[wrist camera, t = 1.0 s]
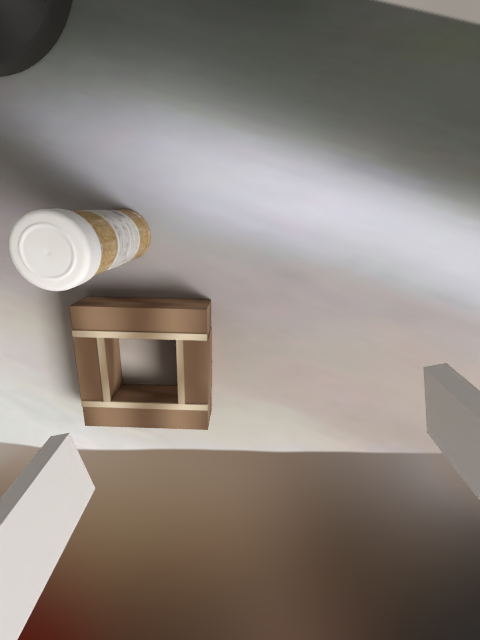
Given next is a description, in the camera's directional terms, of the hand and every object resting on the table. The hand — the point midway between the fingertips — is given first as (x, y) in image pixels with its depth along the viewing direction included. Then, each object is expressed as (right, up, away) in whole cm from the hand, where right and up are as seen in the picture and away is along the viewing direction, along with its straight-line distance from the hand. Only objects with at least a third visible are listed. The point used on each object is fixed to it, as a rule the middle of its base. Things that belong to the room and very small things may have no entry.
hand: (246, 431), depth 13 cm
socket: (-9, 0, +23) cm, 24 cm away
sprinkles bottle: (-10, +12, +19) cm, 25 cm away
